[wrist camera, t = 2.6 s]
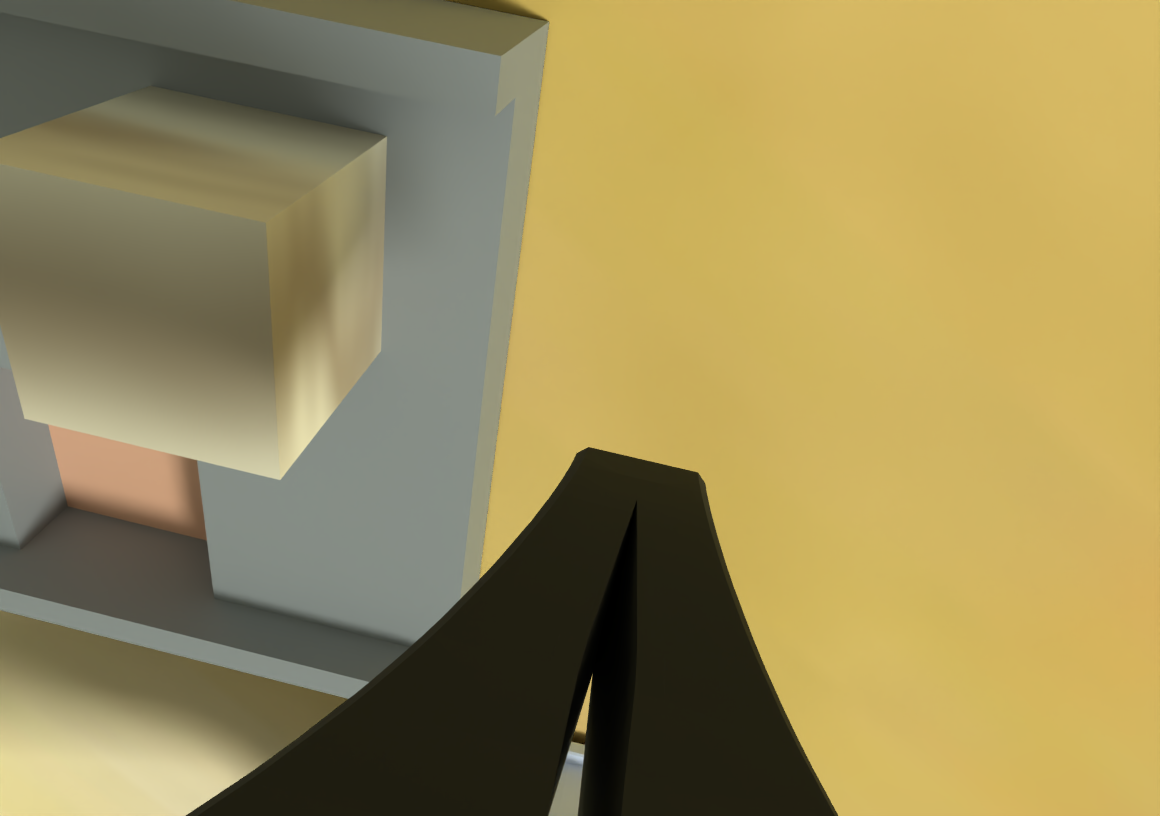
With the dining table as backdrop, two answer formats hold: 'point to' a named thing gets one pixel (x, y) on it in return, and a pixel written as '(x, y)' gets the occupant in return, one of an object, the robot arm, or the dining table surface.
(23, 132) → the birch block
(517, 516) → the dining table surface
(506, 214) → the box
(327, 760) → the robot arm
